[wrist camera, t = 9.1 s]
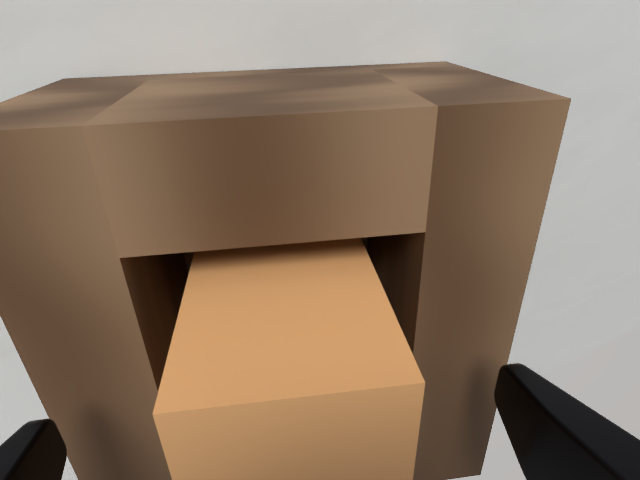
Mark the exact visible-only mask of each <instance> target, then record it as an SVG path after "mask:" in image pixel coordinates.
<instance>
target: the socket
mask: <svg viewBox="0 0 640 480" xmlns="http://www.w3.org/2000/svg"><path fill="white" fill-rule="evenodd" d="M570 101H571V99H570V98H567V97H563V96H560V95H557V94H553V93H550V92H547V91H543V90H540V89H536V88H533V87H530V86H526V85H523V84H520V83H516V82H513V81H509V80H506V79H503V78H499V77H496V76H493V75H489V74H486V73H482V72H479V71H476V70H472V69H469V68H466V67H462V66H459V65H455V64H452V63H449V62H427V63H405V64H382V65H360V66H338V67H315V68H293V69H271V70H248V71H226V72H204V73H182V74H159V75H137V76H115V77H92V78H70V79H62V80H59V81H56V82H54V83H51V84H49V85H46V86H43V87H41V88H38V89H35V90H33V91H30V92H27V93H25V94H22V95H19V96H17V97H14V98H11V99H9V100H6V101H3V102H1V103H0V316H1V318H2V320H3V322H4V324H5V326H6V329H7V331H8V333H9V335H10V337H11V339H12V341H13V343H14V345H15V347H16V350H17V352H18V354H19V356H20V358H21V360H22V362H23V364H24V366H25V368H26V371H27V373H28V375H29V377H30V379H31V381H32V383H33V385H34V387H35V389H36V392H37V394H38V396H39V398H40V400H41V402H42V404H43V406H44V408H45V410H46V413H47V415H48V417H49V419H51V420H53V421H54V422H55V423H56V425H57V428H58V430H59V432H60V434H61V436H62V438H63V440H64V442H65V445H66V449H67V457H68V459H69V461H70V463H71V465H72V467H73V469H74V471H75V473H76V476H77V478H78V480H172V478H171V474H170V471H169V468H168V464H167V461H166V458H165V454H164V451H163V448H162V445H161V441H160V438H159V435H158V431H157V428H156V425H155V421H154V418H153V415H152V414H153V410H154V406H155V402H156V398H157V395H158V391H159V387H160V383H161V379H162V375H163V371H164V367H165V363H166V360H167V356H168V352H169V348H170V344H171V340H172V336H173V332H174V329H175V325H176V321H177V317H178V313H179V309H180V305H181V301H182V297H183V294H184V290H185V286H186V282H187V278H188V274H189V270H190V266H191V262H192V259H193V255H194V252H197V251H209V250H221V249H232V248H244V247H256V246H268V245H280V244H292V243H304V242H315V241H327V240H339V239H351V238H361V239H362V242H363V244H364V246H365V248H366V251H367V253H368V255H369V257H370V260H371V262H372V264H373V266H374V269H375V271H376V273H377V275H378V277H379V280H380V282H381V284H382V286H383V289H384V291H385V293H386V295H387V298H388V300H389V302H390V304H391V307H392V309H393V311H394V313H395V316H396V318H397V320H398V322H399V325H400V327H401V329H402V331H403V334H404V336H405V338H406V340H407V343H408V345H409V347H410V349H411V352H412V354H413V356H414V358H415V361H416V363H417V365H418V367H419V370H420V372H421V374H422V376H423V379H424V381H425V389H424V397H423V405H422V412H421V420H420V428H419V435H418V443H417V451H416V459H415V466H414V474H413V480H447V479H454V478H460V477H468V476H474V475H480V474H481V470H482V466H483V462H484V458H485V453H486V449H487V445H488V441H489V437H490V432H491V429H492V424H493V420H494V416H495V412H496V408H497V406H496V403H495V399H494V390H495V386H496V382H497V377H498V373H499V369H500V368H501V366H503V365H507V362H508V358H509V354H510V350H511V346H512V342H513V337H514V333H515V329H516V325H517V321H518V317H519V313H520V308H521V304H522V300H523V296H524V292H525V288H526V284H527V280H528V275H529V271H530V267H531V263H532V259H533V255H534V251H535V246H536V242H537V238H538V234H539V230H540V226H541V222H542V217H543V213H544V209H545V205H546V201H547V197H548V193H549V188H550V184H551V180H552V176H553V172H554V168H555V164H556V159H557V155H558V151H559V147H560V143H561V139H562V135H563V130H564V126H565V122H566V118H567V114H568V110H569V106H570Z"/></svg>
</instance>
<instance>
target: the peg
mask: <svg viewBox="0 0 640 480" xmlns="http://www.w3.org/2000/svg"><path fill="white" fill-rule="evenodd" d="M424 389H425V381H424V379H423V376H422V374H421V372H420V370H419V367H418V365H417V363H416V361H415V358H414V356H413V354H412V352H411V349H410V347H409V345H408V343H407V340H406V338H405V336H404V334H403V331H402V329H401V327H400V325H399V322H398V320H397V318H396V316H395V313H394V311H393V309H392V307H391V304H390V302H389V300H388V298H387V295H386V293H385V291H384V289H383V286H382V284H381V282H380V280H379V277H378V275H377V273H376V271H375V269H374V266H373V264H372V262H371V260H370V257H369V255H368V253H367V251H366V248H365V246H364V244H363V242H362V239H361V238H351V239H339V240H327V241H315V242H304V243H292V244H280V245H268V246H256V247H244V248H232V249H221V250H209V251H197V252H194V255H193V259H192V262H191V266H190V270H189V274H188V278H187V282H186V286H185V290H184V294H183V297H182V301H181V305H180V309H179V313H178V317H177V321H176V325H175V329H174V332H173V336H172V340H171V344H170V348H169V352H168V356H167V360H166V363H165V367H164V371H163V375H162V379H161V383H160V387H159V391H158V395H157V398H156V402H155V406H154V410H153V414H152V415H153V418H154V421H155V425H156V428H157V431H158V435H159V438H160V441H161V445H162V448H163V451H164V454H165V458H166V461H167V464H168V468H169V471H170V474H171V478H172V480H413V474H414V466H415V459H416V451H417V443H418V435H419V428H420V420H421V412H422V405H423V397H424Z"/></svg>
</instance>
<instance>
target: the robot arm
mask: <svg viewBox="0 0 640 480" xmlns="http://www.w3.org/2000/svg"><path fill="white" fill-rule="evenodd" d="M494 399H495V403H496V406H497V408H498V411H499V414H500V416H501V419H502V421H503V424H504V426H505V429H506V431H507V434H508V436H509V439H510V441H511V444H512V446H513V449H514V451H515V454H516V456H517V459H518V461H519V464H520V466H521V468H522V471H523V473H524V475H525V477H526V479H527V480H640V440H639V439H637V438H635V437H634V436H633V435H631V434H629V433H628V432H626V431H625V430H623V429H622V428H620V427H619V426H617V425H616V424H614V423H612V422H611V421H609V420H608V419H606V418H605V417H603V416H602V415H600V414H599V413H597V412H596V411H594V410H592V409H591V408H589V407H588V406H586V405H585V404H583V403H582V402H580V401H579V400H577V399H575V398H574V397H572V396H571V395H569V394H568V393H566V392H565V391H563V390H562V389H560V388H558V387H557V386H555V385H554V384H552V383H551V382H549V381H548V380H546V379H545V378H543V377H542V376H540V375H538V374H537V373H535V372H534V371H532V370H531V369H529V368H528V367H526V366H524V365H522V364H519V363H517V364H508V365H503V366H501V368H500V369H499V373H498V377H497V382H496V386H495V390H494ZM66 457H67V449H66V445H65V442H64V440H63V438H62V436H61V434H60V432H59V430H58V428H57V425H56V423H55V422H54V421H53V420H51V419H43V420H34V421H30V422H27V423H26V424H24V425H23V426H22V427H21V428H20V429H19V430H17V431H16V432H15V433H14V434H13V435H12V436H11V437H10V438H8V439H7V440H6V441H5V442H4V443H3V444H2V445H1V446H0V480H61V479H62V474H63V470H64V466H65V462H66Z"/></svg>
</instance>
